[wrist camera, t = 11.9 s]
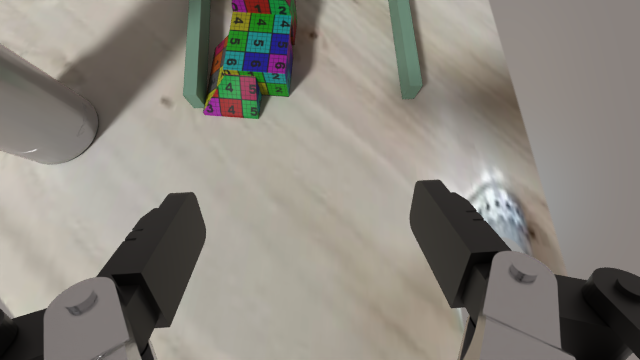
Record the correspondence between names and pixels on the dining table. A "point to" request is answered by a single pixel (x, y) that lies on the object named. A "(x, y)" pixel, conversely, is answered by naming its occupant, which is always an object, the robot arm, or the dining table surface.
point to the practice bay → (200, 44)
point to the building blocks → (252, 58)
